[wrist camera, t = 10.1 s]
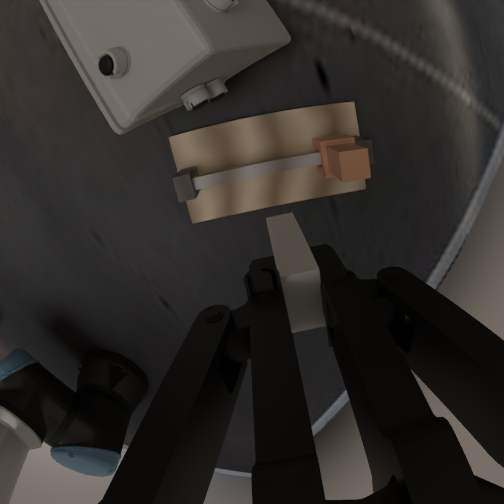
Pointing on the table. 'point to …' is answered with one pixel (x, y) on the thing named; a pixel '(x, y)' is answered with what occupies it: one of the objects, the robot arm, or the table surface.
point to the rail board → (261, 161)
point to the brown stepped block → (342, 158)
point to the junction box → (162, 50)
